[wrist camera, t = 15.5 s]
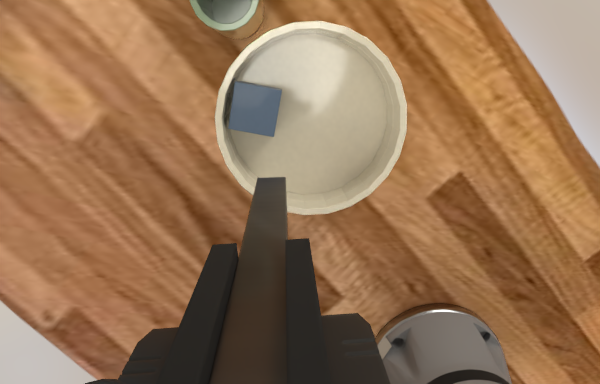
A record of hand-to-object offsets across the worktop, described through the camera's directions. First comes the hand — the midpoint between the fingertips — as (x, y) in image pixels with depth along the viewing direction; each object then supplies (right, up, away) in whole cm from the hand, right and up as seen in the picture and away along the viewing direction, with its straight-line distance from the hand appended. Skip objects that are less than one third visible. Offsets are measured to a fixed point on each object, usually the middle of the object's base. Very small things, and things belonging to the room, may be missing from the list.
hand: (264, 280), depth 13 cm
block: (-3, +11, +25) cm, 28 cm away
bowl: (+2, +10, +27) cm, 29 cm away
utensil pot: (-5, +19, +24) cm, 31 cm away
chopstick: (0, +3, +10) cm, 10 cm away
